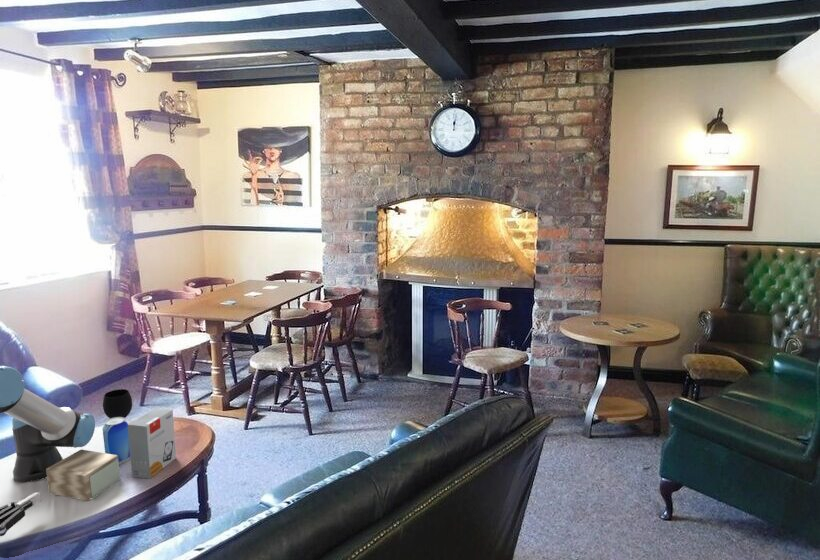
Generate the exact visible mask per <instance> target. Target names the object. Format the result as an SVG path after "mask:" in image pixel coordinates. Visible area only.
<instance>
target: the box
mask: <svg viewBox="0 0 820 560" xmlns="http://www.w3.org/2000/svg"><path fill="white" fill-rule="evenodd" d="M89 480H90V488H91V497H92V498H91V499H90V500H93V499H94V498H96V497H98V496H99V495H100V494H102V493H104V491H106V490H108V489H110V488H111V487H112V486H114V485H115V484H117V483H118V482H119V481H121V472H120V464H119V461H118V459H116V460H114V461H112V462H111V463H109V464H108V465H106V466H104V467H103V468H101V469H100V470H98V471H97V472H95V473H93V474H92V475H90V476H89Z"/></svg>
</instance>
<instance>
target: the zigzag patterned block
mask: <svg viewBox="0 0 820 560" xmlns="http://www.w3.org/2000/svg"><path fill="white" fill-rule="evenodd" d="M117 458H118V455H113V454H107V453H105V452H100V451H99V452H98V451H94V450H93V451H92V450H89V449H88V450H87V449H79V450H78V451H76V452H73V453H72V454H70V455H68V456H67V457H65V458H63V460H61V461H60V462H58V463H56V464H54V465H52V466H51V467H49V468H47V469H46V474H47V478H46V481H47V487H48V489H47V490H48V493H49V494H50V495H56V496H62V497H68V498H72V499H77V500H83V501H89V500H92V499H91V498H92V497H91V488H90V480H89V476H90V475H92V474H93V473H95V472H97V471H98V470H100V469H101V468H103V467H104V466H106V465H108V464H109V463H111V462H112V461H114V460H116V459H117Z"/></svg>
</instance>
